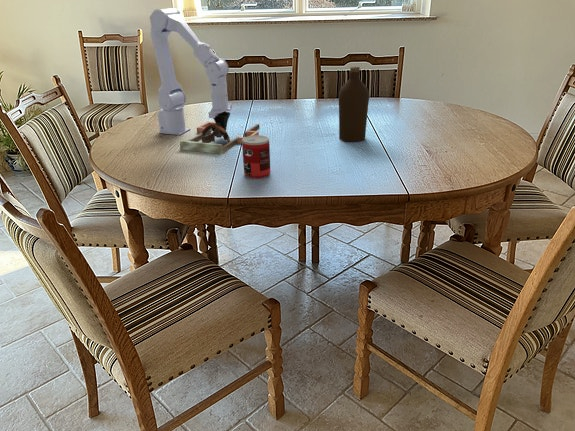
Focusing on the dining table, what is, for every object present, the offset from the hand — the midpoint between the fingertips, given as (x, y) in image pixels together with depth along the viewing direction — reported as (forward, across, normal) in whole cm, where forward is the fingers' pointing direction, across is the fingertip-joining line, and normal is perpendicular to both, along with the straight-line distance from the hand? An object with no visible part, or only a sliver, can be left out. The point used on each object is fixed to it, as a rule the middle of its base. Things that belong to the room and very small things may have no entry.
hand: (222, 132), depth 179 cm
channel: (+2, 0, 0) cm, 2 cm away
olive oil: (+2, +13, -46) cm, 48 cm away
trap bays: (+2, +4, 0) cm, 4 cm away
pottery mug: (+2, -7, -1) cm, 7 cm away
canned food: (+2, -30, -27) cm, 41 cm away
